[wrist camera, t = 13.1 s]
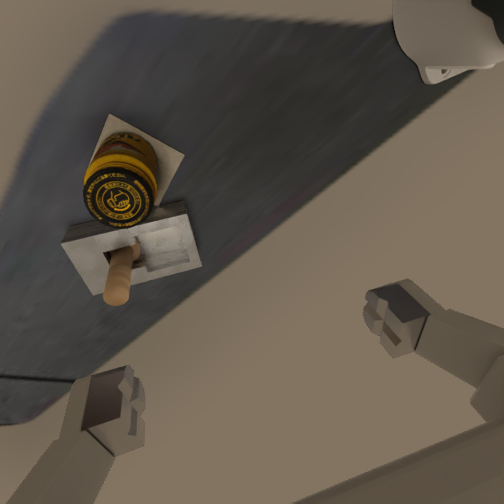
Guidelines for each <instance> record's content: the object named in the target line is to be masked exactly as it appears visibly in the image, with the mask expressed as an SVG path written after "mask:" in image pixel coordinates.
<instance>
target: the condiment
mask: <svg viewBox="0 0 504 504" xmlns="http://www.w3.org/2000/svg"><path fill="white" fill-rule="evenodd" d="M183 157H184V154H182V153H180V152H178V151H177V150H175V149H173V148H171V147H169V146H167V145H166V144H164V143H162V142H160V141H158V140H157V139H155V138H153V137H151V136H149V135H148V134H146V133H144V132H142V131H140V130H139V129H137V128H135V127H133V126H131V125H130V124H128V123H126V122H124V121H122V120H120V119H119V118H117V117H115V116H113V115H111V114H109V115H108V118H107V120H106V123H105V125H104V128H103V131H102V133H101V136H100V138H99V141H98V143H97V146H96V148H95V151H94V153H93V156H92V158H91V161H90V163H89V166H88V169H87V171H86V172H85V178H84V190H83V196H84V203H85V206H86V207H87V209H88V211H89V213H90V214H91V215H92V216H93V217H94V218H95V219H96V220H98V221H99V222H100V223H101V224H103V225H105V226H109V227H112V228H115V229H129V228H132V227H134V226H137V225H139V224H141V223H142V222H144V221H145V220H146V219H147V218H148V217H149V216H150V214H151V212H152V209H153V207H154V205H156V206H159V204H160V202H161V200H162V198H163V196H164V194H165V192H166V190H167V188H168V186H169V184H170V182H171V180H172V178H173V176H174V174H175V173H176V171H177V169H178V167H179V165H180V163H181V161H182V159H183ZM158 158H159V160H158ZM159 161H161V164H160V163H159Z"/></svg>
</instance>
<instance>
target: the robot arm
mask: <svg viewBox="0 0 504 504" xmlns="http://www.w3.org/2000/svg"><path fill="white" fill-rule="evenodd" d="M393 23H394V29H395V33H396V37H397V40H398V42H399V44H400V46H401V48H402V50H403V51H404V52H405V54H406V55H407V56H408V57H409V58H411V59H412V60H413V61H414V62H415V63H416V64H417V66H418V68H419V72H420V75H421V77H422V80H423V82H424V83H425V84H436V83H439V82H441V81H443V80H446V79H448V78H450V77H453V76H455V75H457V74H460V73H462V72H464V71H467V70H469V69H489V68H492V67H493V66H494V65H495V64H496V63H499V62H502V61H504V0H393ZM442 69H443V70H442ZM441 71H442V72H441ZM365 299H366V300H367V301H368V303H367V304H366V305H365V306H364V308H363V316H364V320H365V323H366V325H367V326H368V328H369V329H370V330H371V332H372V333H374V334H376V335H378V336H380V343H381V345H382V346H383V347H384V348H385V350H386V351H387V352H388V353H389V355H391V357H392V358H396V357H399V356H402V355H405V354H408V353H411V352H414V351H415V353H416V354H418V355H420V356H422V357H423V358H425V359H427V360H428V361H430V362H432V363H434V364H435V365H437V366H439V367H441V368H442V369H444V370H446V371H447V372H450V373H451V374H453V375H454V376H456V377H458V378H460V379H461V380H463V381H465V382H467V383H468V384H470V385H472V386H473V387H475V388H477V389H476V391H475V392H474V394H473V395H472V397H471V398H470V404H471V405H472V406H473V408H474V409H475V410H476V411H477V412H478V413H479V414H480V415H481V416H482V418H483V419H484V420H485V421H486V423H484V424H481V425H479V426H476V427H474V428H472V429H469V430H467V431H464V432H462V433H459V434H457V435H455V436H452V437H450V438H447V439H445V440H443V441H440V442H438V443H435V444H433V445H430V446H428V447H426V448H423V449H421V450H419V451H416V452H414V453H411V454H409V455H406V456H404V457H401V458H399V459H397V460H394V461H392V462H389V463H387V464H385V465H382V466H380V467H377V468H375V469H372V470H370V471H368V472H365V473H363V474H360V475H358V476H356V477H353V478H351V479H348V480H346V481H343V482H341V483H339V484H336V485H334V486H331V487H329V488H327V489H324V490H322V491H319V492H317V493H315V494H312V495H310V496H307V497H305V498H303V499H300V500H298V501H296V502H293V503H290V504H504V328H501V327H498V326H496V325H493V324H490V323H487V322H485V321H482V320H479V319H476V318H473V317H471V316H468V315H465V314H462V313H460V312H457V311H454V310H451V309H448V310H445V309H444V308H443V307H442V306H441V305H439V304H438V303H437V302H436V301H435V300H434V299H432V298H431V297H430V296H429V295H428V294H427V293H425V292H424V291H423V290H422V289H421V288H420V287H419V286H418V285H416V284H415V283H414V282H413V281H411V280H409V279H405V280H401V281H398V282H395V283H390V284H387V285H384V286H381V287H378V288H375V289H372V290H369V291H368V292H367V293H366V296H365ZM133 375H134V370H133V369H132V367H131V366H130V365H126V366H123V367H119V368H116V369H112V370H109V371H105V372H101V373H98V374H94V375H91V376H87V377H84V378H81V379H77V380H76V381H75V382H74V384H73V385H72V388H71V392H70V396H69V400H68V404H67V408H66V412H65V416H64V420H63V424H62V428H61V432H60V436H59V439H58V440H55V441H53V442H52V443H51V445H50V446H49V447H48V449H47V450H46V451H45V452H44V454H43V455H42V456H41V458H40V459H39V460H38V462H37V463H36V464H35V466H34V467H33V468H32V470H31V471H30V472H29V474H28V475H27V476H26V477H25V479H24V480H23V481H22V483H21V484H20V485H19V487H18V488H17V489H16V491H15V492H14V493H13V495H12V496H11V498H10V499H9V500H8V501H7V503H6V504H93V503H94V501H95V499H96V497H97V495H98V493H99V491H100V489H101V487H102V485H103V483H104V481H105V479H106V477H107V475H108V473H109V471H110V468H111V467H112V465H113V463H114V461H115V457H116V456H119V455H121V454H124V453H126V452H129V451H132V450H135V449H137V448H140V447H142V446H144V440H145V439H144V438H145V422H144V421H143V419H142V418H141V414H142V413H143V411H144V409H145V393H144V388H143V385H142V383H141V381H140V379H139V378H136V377H134V376H133Z"/></svg>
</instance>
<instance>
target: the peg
mask: <svg viewBox="0 0 504 504" xmlns="http://www.w3.org/2000/svg"><path fill="white" fill-rule="evenodd" d="M134 237H135V239H136V242H135V244H134V245H130V246H126V247H122V248H118V249H114V250H110V251H106V253H107V255H108V257H109V259H110V260H111V261H110V266H109V271H108V275H107V280H106V285H105V289H104V294H103V299H104V301H105V302H106V303H108V304H110V305H114V306H118V305H122V304H124V303H126V302H127V301H128V298H129V290H130V281H131V271H132V263H133V262H135V261H136V260H137V259H138V258H139V256H140V249H141V244H140V241H139V240H138V238H137V237H136V236H134Z"/></svg>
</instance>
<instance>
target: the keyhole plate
mask: <svg viewBox="0 0 504 504" xmlns="http://www.w3.org/2000/svg"><path fill="white" fill-rule="evenodd" d="M134 236H136V237H137V238H138V240H139V241H140V244H141V249H140V256H139V258H138V259H137V260H136V261H135V262H133V263H132V271H131V281H130V285H134V284H138V283H141V282H145V281H149V280H153V279H156V278H160V277H164V276H168V275H171V274H175V273H179V272H183V271H186V270H190V269H194V268H198V267H201V266H202V264H201V260H200V255H199V251H198V247H197V244H196V240H195V237H194V233H193V230H192V226H191V223H190V219H189V216H188V212H187V209H186V205H185V202H184V200H182V201H178V202H173V203H169V204H164V205H160V206H156V207H153V209H152V212H151V214H150V216H149V217H148V218H147V219H146V220H145V221H144V222H142V223H141V224H139V225H137V226H134V227H132V228H129V229H115V228H112V227H109V226H105V225H103V224H101V223H100V222H99V221H98V220H95V221H90V222H86V223H82V224H77V225H73V226H69V228H68V230H67V232H66V234H65V236H64V238H63V240H62V242H61V245H62V247H63V248H64V250H65V252H66V253H67V255H68V256H69V258H70V259H71V261H72V263H73V264H74V266H75V267H76V269H77V271H78V272H79V274H80V275H81V277H82V279H83V280H84V282H85V283H86V285H87V286H88V288H89V290H90V291H91V293H92V294H93V295H96V294H100V293H104V289H105V285H106V280H107V275H108V271H109V266H110V261H111V260H110V259H109V257H108V255H107V253H106V251H110V250H114V249H118V248H122V247H126V246H130V245H134V244H135V242H136V239H135V237H134Z"/></svg>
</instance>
